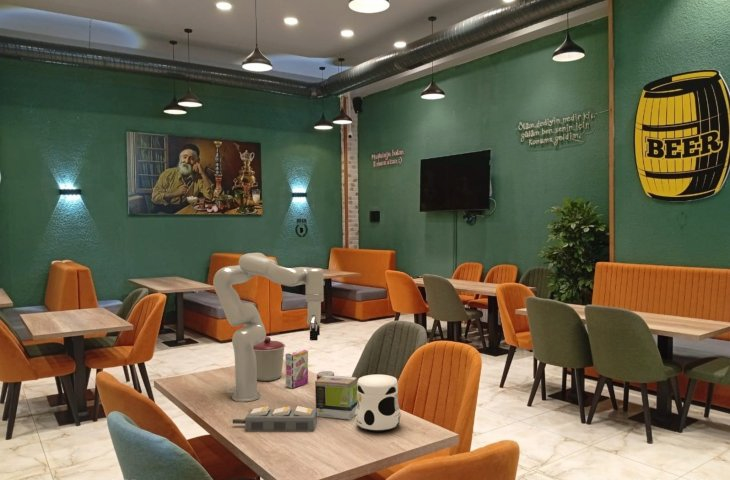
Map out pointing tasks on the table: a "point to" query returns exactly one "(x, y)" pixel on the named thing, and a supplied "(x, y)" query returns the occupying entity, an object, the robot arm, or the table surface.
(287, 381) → the candy bar box
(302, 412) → the rocker
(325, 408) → the tea box
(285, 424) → the power strip
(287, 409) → the rocker
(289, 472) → the table surface
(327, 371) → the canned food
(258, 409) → the rocker
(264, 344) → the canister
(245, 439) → the table surface
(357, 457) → the table surface
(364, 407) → the milk container
